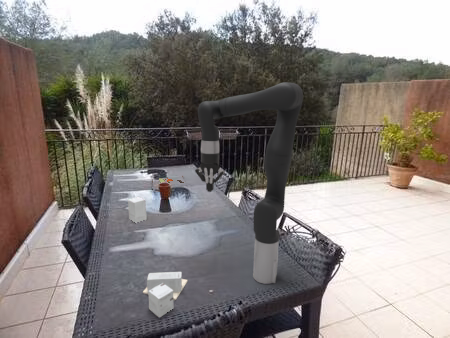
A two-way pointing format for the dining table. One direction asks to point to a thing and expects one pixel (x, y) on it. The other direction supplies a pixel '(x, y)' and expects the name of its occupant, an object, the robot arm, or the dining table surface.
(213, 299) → the dining table surface
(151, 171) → the dining table surface
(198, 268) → the dining table surface
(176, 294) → the mat
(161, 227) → the dining table surface
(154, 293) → the skincare box
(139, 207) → the supplement box
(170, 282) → the skincare box
